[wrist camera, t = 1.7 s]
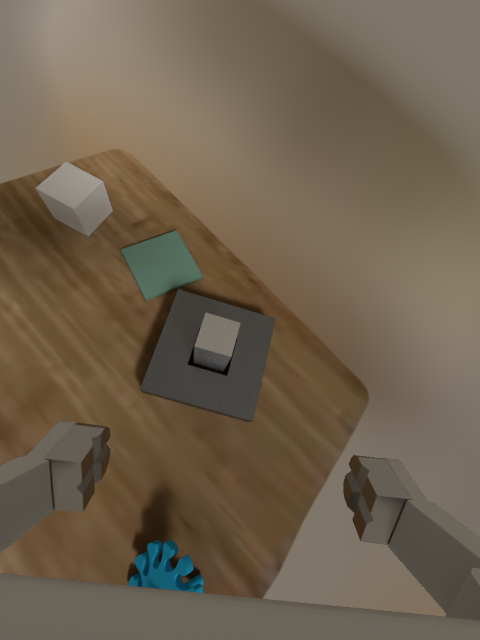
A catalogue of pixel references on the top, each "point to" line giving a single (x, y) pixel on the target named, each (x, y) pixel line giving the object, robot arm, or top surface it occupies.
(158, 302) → the top surface
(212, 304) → the socket block
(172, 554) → the gear
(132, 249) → the rubber mat
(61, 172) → the plain white cube
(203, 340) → the steel bar
